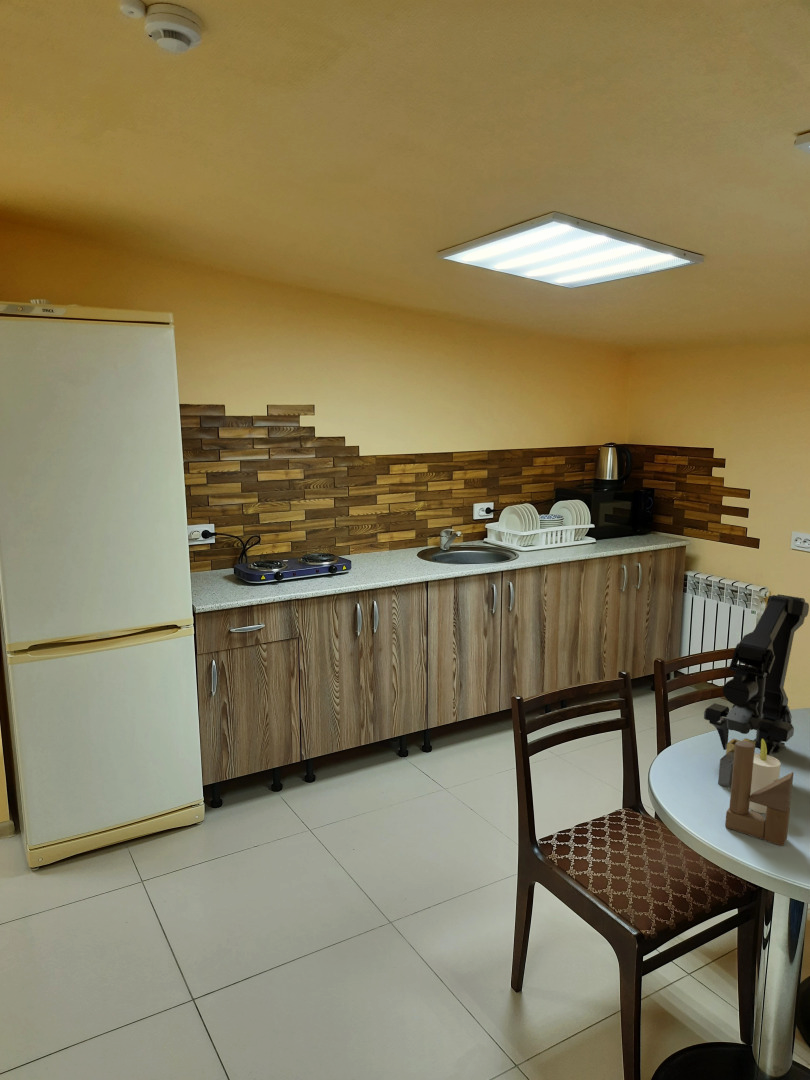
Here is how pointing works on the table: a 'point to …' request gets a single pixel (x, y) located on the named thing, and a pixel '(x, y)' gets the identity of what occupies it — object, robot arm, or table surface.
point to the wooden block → (758, 800)
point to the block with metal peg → (726, 769)
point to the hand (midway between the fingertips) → (744, 755)
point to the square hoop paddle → (732, 744)
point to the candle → (763, 774)
